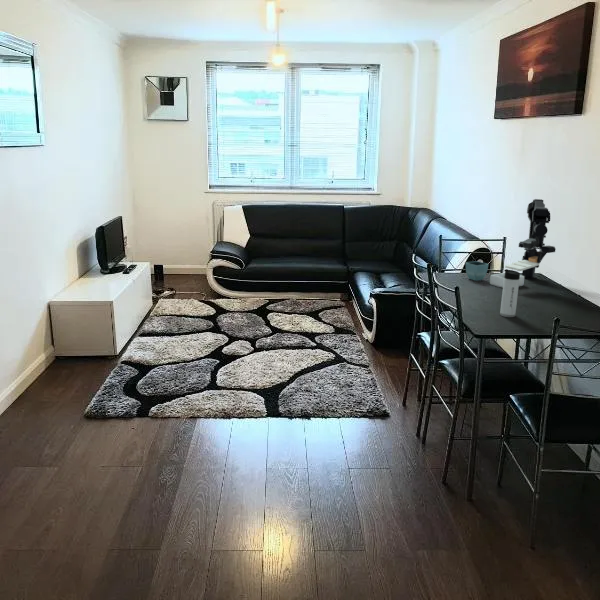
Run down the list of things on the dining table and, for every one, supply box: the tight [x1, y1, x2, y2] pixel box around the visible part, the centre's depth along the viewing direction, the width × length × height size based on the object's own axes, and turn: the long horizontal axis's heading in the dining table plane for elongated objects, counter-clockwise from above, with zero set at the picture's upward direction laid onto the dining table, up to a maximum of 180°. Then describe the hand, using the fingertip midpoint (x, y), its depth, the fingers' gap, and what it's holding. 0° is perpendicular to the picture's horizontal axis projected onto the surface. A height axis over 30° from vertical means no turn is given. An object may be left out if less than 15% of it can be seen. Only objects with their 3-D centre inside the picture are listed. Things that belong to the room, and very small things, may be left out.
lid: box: [504, 256, 540, 272], centre depth 311 cm, size 18×10×2 cm, turn 119°
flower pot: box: [465, 260, 489, 281], centre depth 329 cm, size 9×9×9 cm
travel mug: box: [499, 268, 521, 318], centre depth 265 cm, size 6×7×20 cm
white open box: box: [489, 272, 525, 289], centre depth 320 cm, size 14×10×5 cm
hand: (534, 263), depth 314 cm, fingers closed on lid, 4 cm apart
